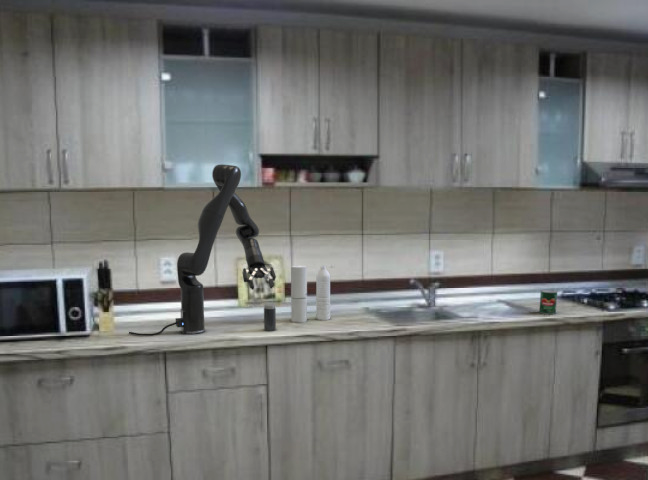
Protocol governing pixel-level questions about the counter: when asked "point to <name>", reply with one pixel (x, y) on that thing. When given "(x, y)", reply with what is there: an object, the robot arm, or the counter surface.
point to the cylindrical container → (298, 293)
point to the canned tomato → (548, 302)
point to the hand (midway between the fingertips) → (262, 288)
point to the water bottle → (323, 294)
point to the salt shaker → (269, 317)
